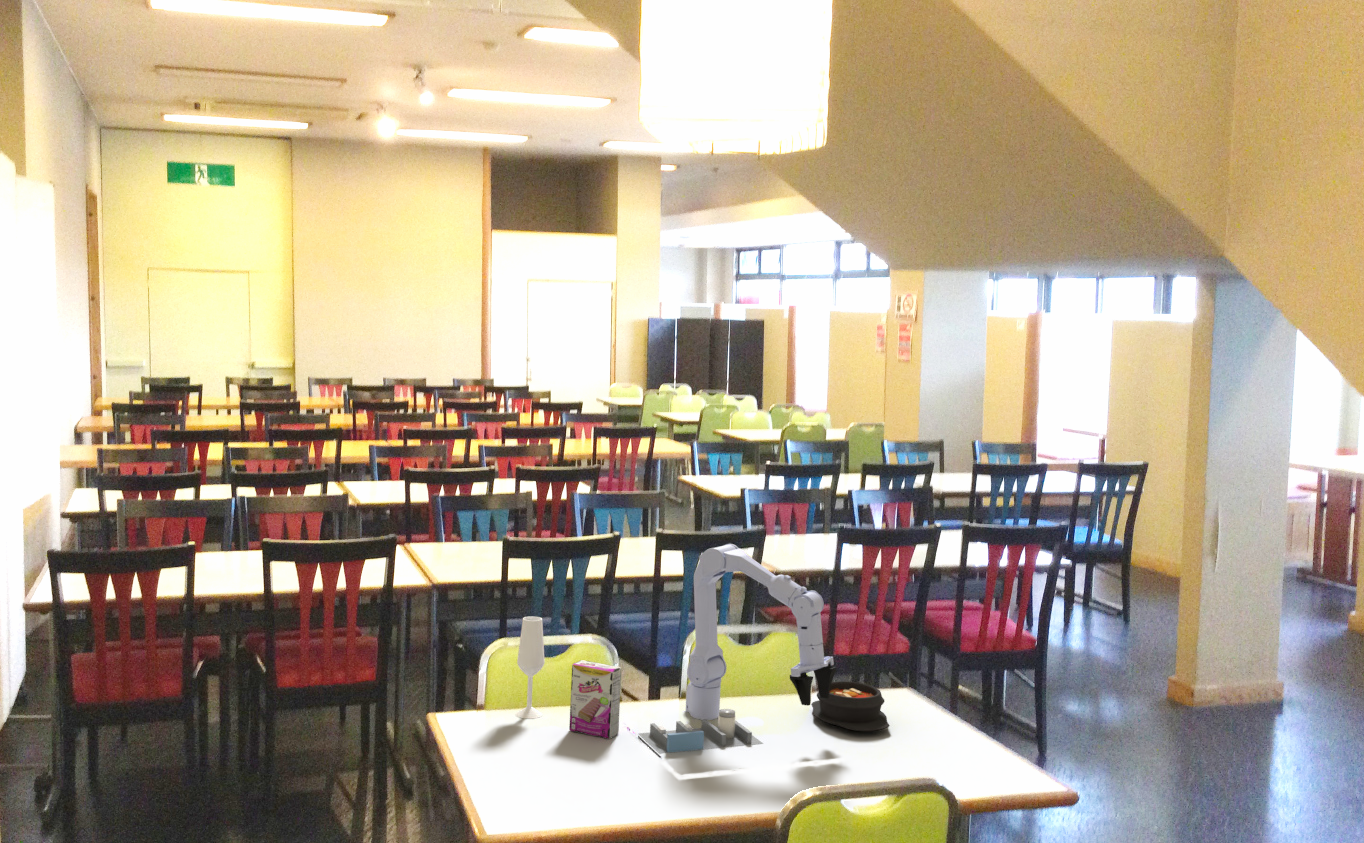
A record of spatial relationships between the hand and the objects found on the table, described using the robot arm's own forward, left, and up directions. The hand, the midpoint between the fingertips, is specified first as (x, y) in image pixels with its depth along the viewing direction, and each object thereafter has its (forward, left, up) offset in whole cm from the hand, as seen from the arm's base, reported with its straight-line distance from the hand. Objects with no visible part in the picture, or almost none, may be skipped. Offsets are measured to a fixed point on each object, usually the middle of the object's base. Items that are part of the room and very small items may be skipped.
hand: (815, 701), depth 284 cm
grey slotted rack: (-8, -25, -11) cm, 29 cm away
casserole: (-13, +18, -11) cm, 25 cm away
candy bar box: (-21, -47, -11) cm, 53 cm away
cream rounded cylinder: (-8, -19, -10) cm, 23 cm away
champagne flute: (-39, -59, -11) cm, 71 cm away
